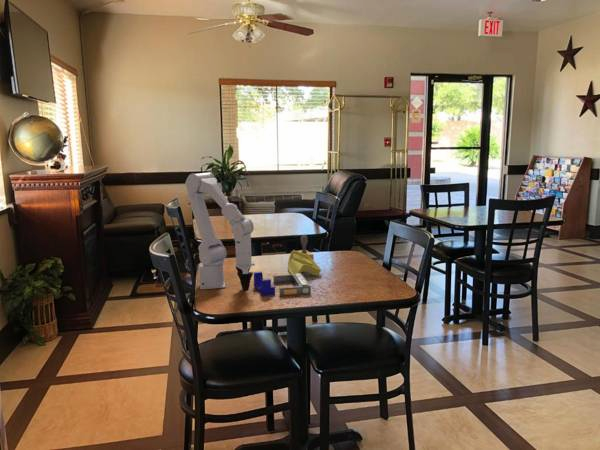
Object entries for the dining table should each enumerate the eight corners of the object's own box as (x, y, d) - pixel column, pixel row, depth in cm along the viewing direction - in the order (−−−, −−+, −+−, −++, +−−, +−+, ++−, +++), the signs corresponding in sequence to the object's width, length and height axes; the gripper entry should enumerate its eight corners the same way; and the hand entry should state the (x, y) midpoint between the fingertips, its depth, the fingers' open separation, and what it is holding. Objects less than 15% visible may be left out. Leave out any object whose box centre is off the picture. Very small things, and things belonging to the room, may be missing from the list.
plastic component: (322, 271, 200) (301, 262, 196) (315, 286, 200) (294, 278, 197) (309, 256, 218) (290, 248, 215) (302, 270, 219) (283, 263, 216)
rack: (280, 296, 175) (279, 287, 174) (273, 283, 191) (273, 274, 191) (310, 294, 177) (310, 285, 176) (301, 281, 193) (301, 272, 193)
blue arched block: (275, 294, 178) (274, 279, 177) (263, 296, 176) (262, 280, 175) (265, 285, 189) (264, 271, 188) (254, 287, 187) (253, 272, 186)
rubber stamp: (313, 262, 223) (313, 236, 221) (302, 263, 221) (301, 237, 219) (306, 257, 232) (305, 232, 230) (294, 258, 230) (294, 233, 228)
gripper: (256, 256, 172) (257, 292, 175) (252, 247, 186) (253, 281, 189) (236, 257, 171) (237, 294, 173) (233, 248, 185) (235, 282, 187)
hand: (244, 287), depth 181 cm, fingers open, 7 cm apart
